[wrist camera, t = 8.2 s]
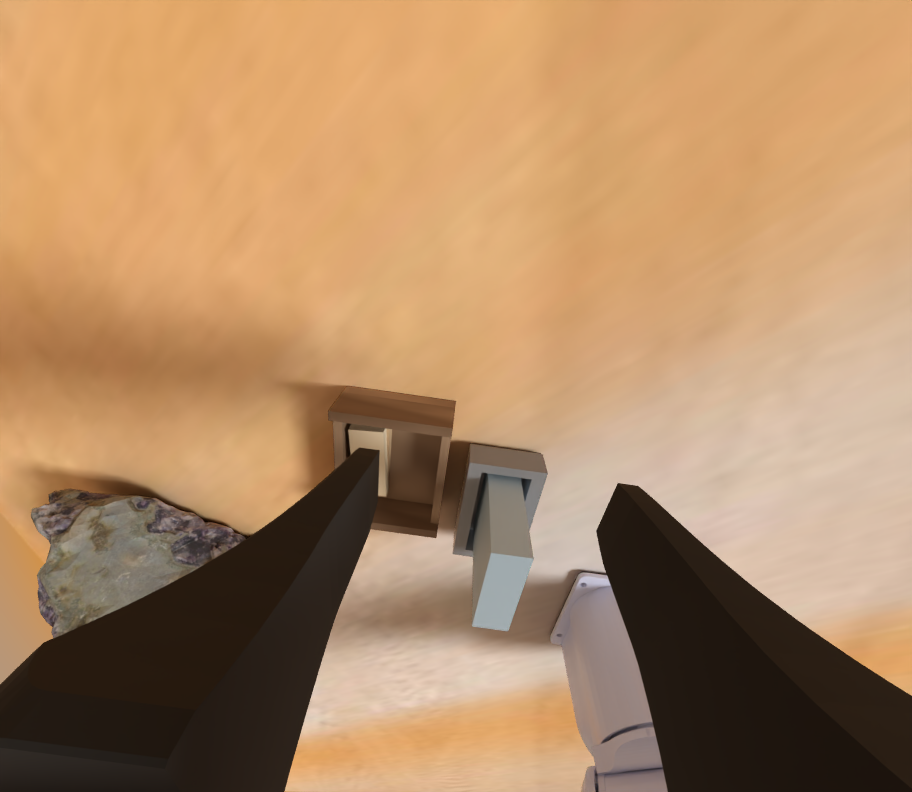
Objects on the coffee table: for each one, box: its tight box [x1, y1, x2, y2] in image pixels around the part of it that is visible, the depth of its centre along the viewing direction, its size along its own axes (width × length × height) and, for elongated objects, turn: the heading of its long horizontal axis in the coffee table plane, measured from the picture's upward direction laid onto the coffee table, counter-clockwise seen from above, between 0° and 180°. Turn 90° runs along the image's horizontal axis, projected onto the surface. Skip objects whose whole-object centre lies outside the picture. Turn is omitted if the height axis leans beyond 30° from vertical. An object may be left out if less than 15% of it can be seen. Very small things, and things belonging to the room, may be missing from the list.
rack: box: [328, 386, 456, 538], centre depth 22 cm, size 8×7×3 cm
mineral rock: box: [31, 489, 246, 638], centre depth 23 cm, size 13×11×10 cm
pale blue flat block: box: [472, 473, 534, 631], centre depth 21 cm, size 6×2×7 cm, turn 173°
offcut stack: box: [348, 424, 392, 497], centre depth 22 cm, size 6×2×1 cm, turn 173°
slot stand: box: [453, 443, 548, 557], centre depth 23 cm, size 8×5×2 cm, turn 173°
